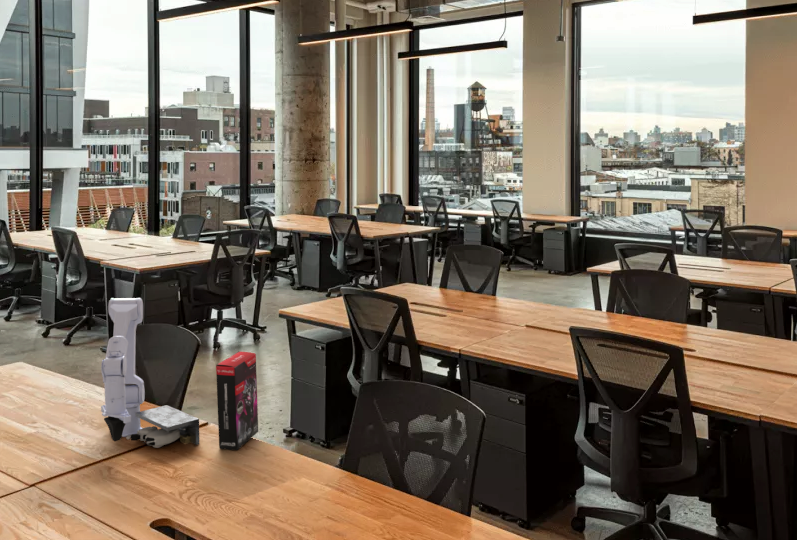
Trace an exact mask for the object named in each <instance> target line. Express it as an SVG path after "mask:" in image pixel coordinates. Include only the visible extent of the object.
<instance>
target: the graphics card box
mask: <svg viewBox="0 0 797 540" xmlns="http://www.w3.org/2000/svg"><path fill="white" fill-rule="evenodd" d="M215 370H216V397H217V400H216V401H217V421H218V423H217V424H218V426H217V427H218V448H219V449H220V450H227V451H228V450H229V451H238V450H240V448H242V447H243V446H244V445H245V444H246V443H247V442H248V441H250V439H252V438H253V437H254V436H255V435H256V434H257V433H258V432H259V413H258V412H259V410H258V409H259V408H258V381H257V379H258V378H257V354H256V353H255V352H250V351H239V350H238V351H237V352H236V353H234V354H233V355H230V356H228V357H227V358H226V359H224V360H222V361H220V362H218V363H216V364H215Z"/></svg>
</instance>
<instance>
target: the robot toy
mask: <svg viewBox="0 0 797 540" xmlns="http://www.w3.org/2000/svg"><path fill="white" fill-rule="evenodd" d="M141 428H142V429H140V430H138V431H137V434H132V435H130V436H126V437H125V438H126V440H131V442H132V441H135V442H137V441H139V440H140V442H141V441H144V442H143V443H145V444H146V445H147V446H152V447H153V448H156V449H158V448H162V447H163V446H164V445H165V446H166V445H169V444H171V443H173V442H175V441H177V440H179V439H180V431H181V430H185V429H181V430H179V429H178V428H177V429H174V430H170V431H166V430H164V429H162V428H159V427H157V426H155V425H153V426H145V427H141ZM145 441H146V442H145Z"/></svg>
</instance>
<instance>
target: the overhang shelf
mask: <svg viewBox="0 0 797 540" xmlns="http://www.w3.org/2000/svg"><path fill="white" fill-rule="evenodd" d="M136 417H138V418H140V420H143V421H145V422H147V423H149V424H151V425H153V426H156V427H157V428H159V429H161V428H162V429H164V430H166V431H170V430H174V429H177V428H178V429H179V430H181V429H185V430H181V431H180V437H179V442H180V443H182V444H184V445H187V444H190V443H191V444H192V445H196V446H198V445H200V441H201V440H200V418H198V417H196V416H194V415H192V414H188V413H187V412H184V411H181V410H180V409H177V408H175V407H173V406H171V405H167V404H166V405H162V406H161V405H160V406H158V407H153V408H150V409H144V410H140V412H137V413H136Z"/></svg>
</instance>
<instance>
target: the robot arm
mask: <svg viewBox="0 0 797 540" xmlns="http://www.w3.org/2000/svg"><path fill="white" fill-rule="evenodd" d="M107 308H108V310H107V311H108V315H109V317H110V319H111V321H112V322H113V334H112V335H113V336H112V337H110V338H109V339H108V342H107V348H106V352H105V353H106V354H105V358H104V359H102V360H101V365H100V372H101V377H102V383H103V384H104V403H105V404H103V405H101V406H100V412H101V416H102V417H104V419H103V420H104V422H105V424H106V425H107V427H108V431H109V433H110V437H111V439H112V441H113V442H118V441H122V437H123V438H126V437H127V436H131V435H132V434H137V431H138V430H140V429H142V428H143V427H142V426H141V425H142V424H141V419H140V418H138V417H136V413H137V412H141V404H143V403H144V402H145V395H146V392H145V382H144V380H143V378H141V377H140V376H138V375H136V342H137V341H136V339H137V335H136V334H137V333H136V331H137V327H138V325H139V324H141V323H142V322H143V319H144V303H143V299H142V297H136V298H135V297H133V298H132V297H126V298H124V297H121V298H118V297H117V298H114V297H111V298H110V300H108V307H107Z"/></svg>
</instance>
